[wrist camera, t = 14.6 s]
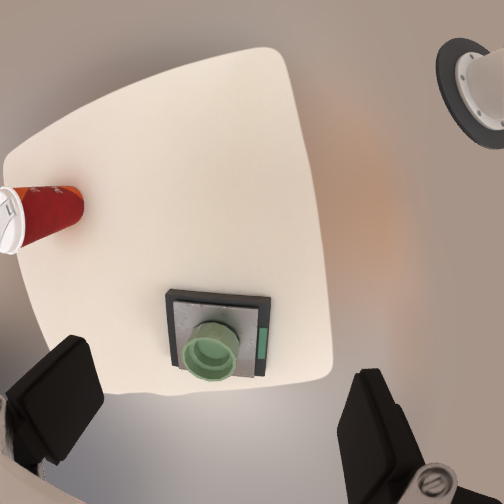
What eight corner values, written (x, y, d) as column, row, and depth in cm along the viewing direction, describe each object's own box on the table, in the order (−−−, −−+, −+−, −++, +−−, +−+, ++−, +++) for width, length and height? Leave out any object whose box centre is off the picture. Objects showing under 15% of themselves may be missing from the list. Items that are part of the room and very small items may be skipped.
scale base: (271, 297, 38) (270, 304, 36) (265, 368, 41) (264, 378, 39) (169, 288, 39) (164, 295, 37) (175, 358, 42) (171, 366, 40)
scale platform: (258, 307, 36) (258, 309, 35) (254, 375, 39) (254, 377, 38) (174, 300, 36) (173, 302, 36) (180, 366, 39) (179, 368, 39)
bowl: (240, 323, 36) (236, 340, 32) (239, 365, 38) (235, 384, 34) (189, 318, 36) (179, 334, 32) (192, 359, 38) (184, 377, 34)
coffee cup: (77, 168, 35) (3, 172, 21) (97, 215, 37) (25, 237, 23) (46, 197, 37) (-23, 211, 23) (65, 241, 39) (-3, 268, 24)
